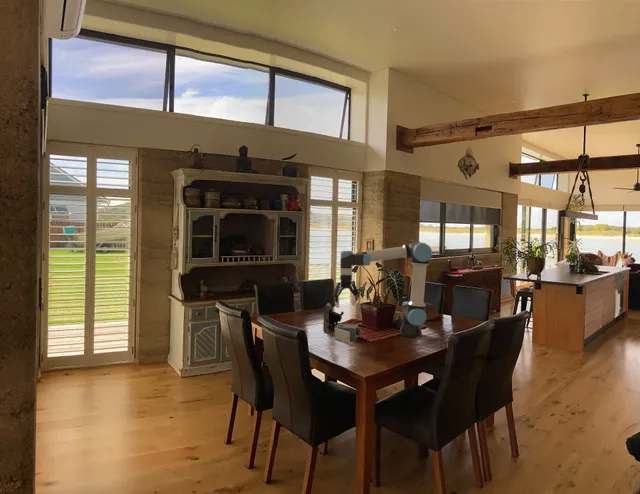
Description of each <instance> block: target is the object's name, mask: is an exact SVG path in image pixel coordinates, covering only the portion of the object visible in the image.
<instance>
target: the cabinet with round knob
mask: <svg viewBox="0 0 640 494" xmlns="http://www.w3.org/2000/svg"><path fill="white" fill-rule="evenodd" d="M335 325H336V324H335ZM335 328H338V329H341V330H344V331H348V332H350V341H357V340H358V338H359V336H361V333H362V329H361V328H360V327H359V325H358V324H347V323H346V324H345V323H338V324H337V325H336V326H335ZM357 337H358V338H357Z"/></svg>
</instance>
